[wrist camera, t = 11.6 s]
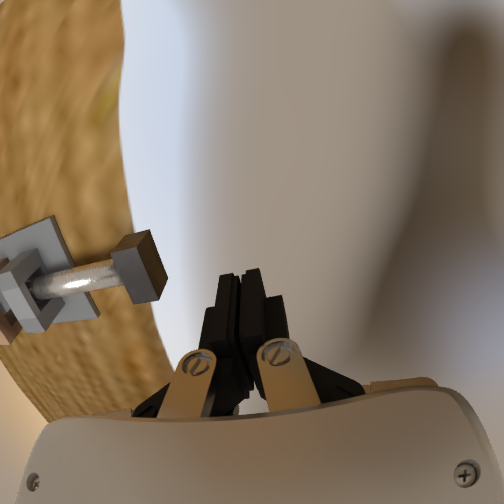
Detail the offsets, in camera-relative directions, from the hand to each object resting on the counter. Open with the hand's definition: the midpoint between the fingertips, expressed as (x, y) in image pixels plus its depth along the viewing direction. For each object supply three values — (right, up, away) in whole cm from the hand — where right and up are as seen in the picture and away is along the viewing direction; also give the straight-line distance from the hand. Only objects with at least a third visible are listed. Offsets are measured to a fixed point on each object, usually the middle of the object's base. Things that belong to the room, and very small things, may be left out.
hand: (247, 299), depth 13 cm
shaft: (-14, 0, +8) cm, 16 cm away
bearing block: (-25, -1, +10) cm, 27 cm away
